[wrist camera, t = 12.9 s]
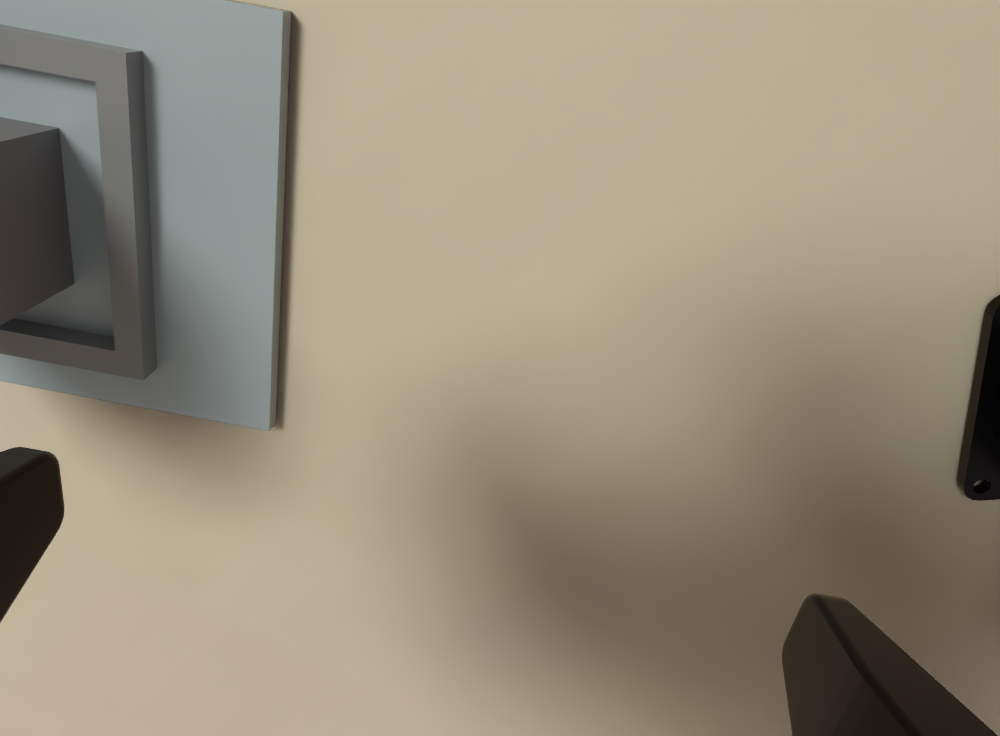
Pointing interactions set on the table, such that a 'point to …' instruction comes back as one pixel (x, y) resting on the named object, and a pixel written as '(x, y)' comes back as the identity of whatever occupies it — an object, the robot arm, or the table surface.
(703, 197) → the table surface
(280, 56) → the charging dock
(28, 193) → the brick
